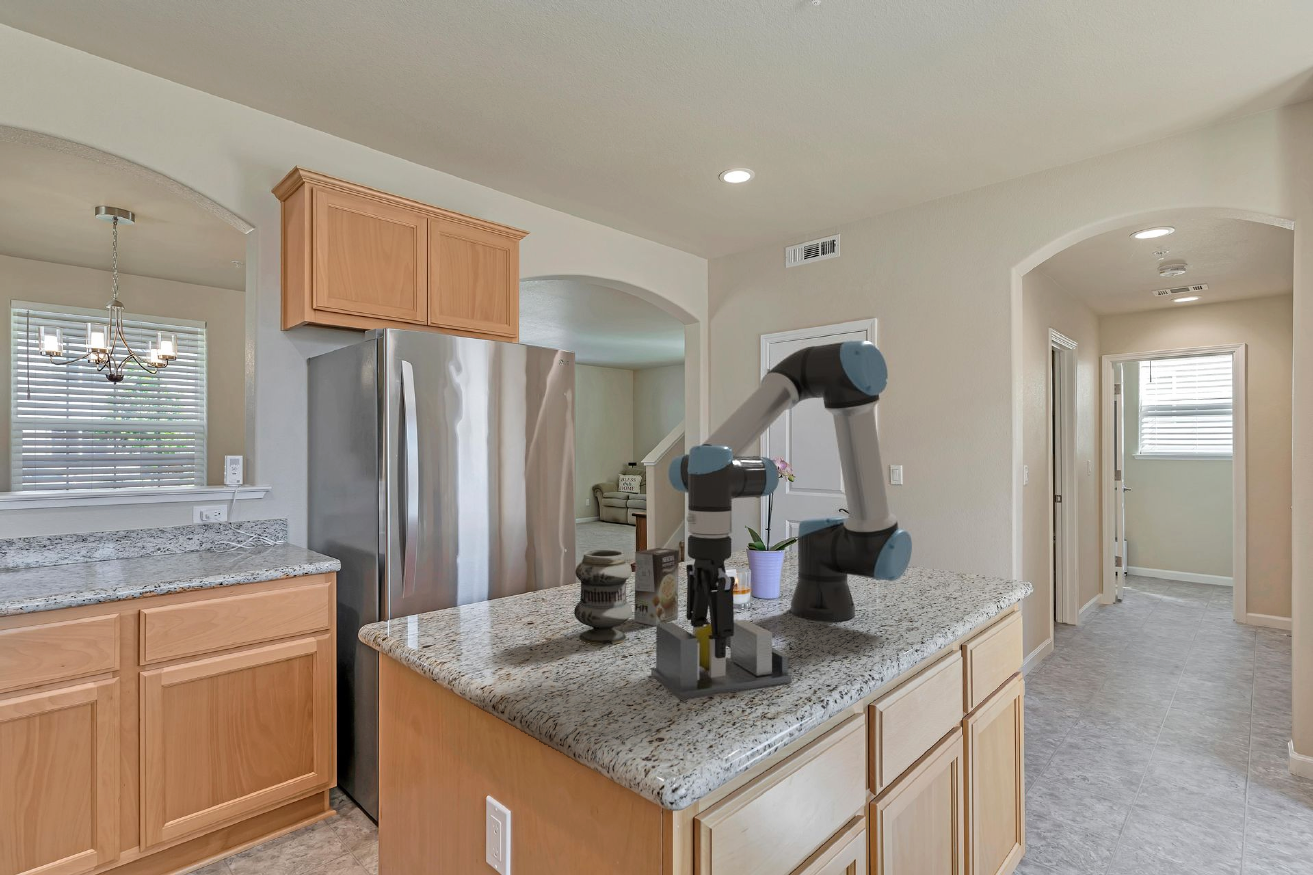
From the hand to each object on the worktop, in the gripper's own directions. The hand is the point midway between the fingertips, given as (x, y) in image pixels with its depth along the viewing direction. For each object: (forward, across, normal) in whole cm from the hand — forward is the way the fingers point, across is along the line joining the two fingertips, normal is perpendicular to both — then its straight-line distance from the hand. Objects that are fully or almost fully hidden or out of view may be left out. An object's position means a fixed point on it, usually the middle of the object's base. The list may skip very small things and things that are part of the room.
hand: (708, 669), depth 111 cm
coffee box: (+2, -39, +7) cm, 40 cm away
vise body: (+2, 0, +2) cm, 3 cm away
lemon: (+1, 0, 0) cm, 1 cm away
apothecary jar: (+2, -30, -9) cm, 31 cm away
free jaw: (+1, -6, +8) cm, 10 cm away
